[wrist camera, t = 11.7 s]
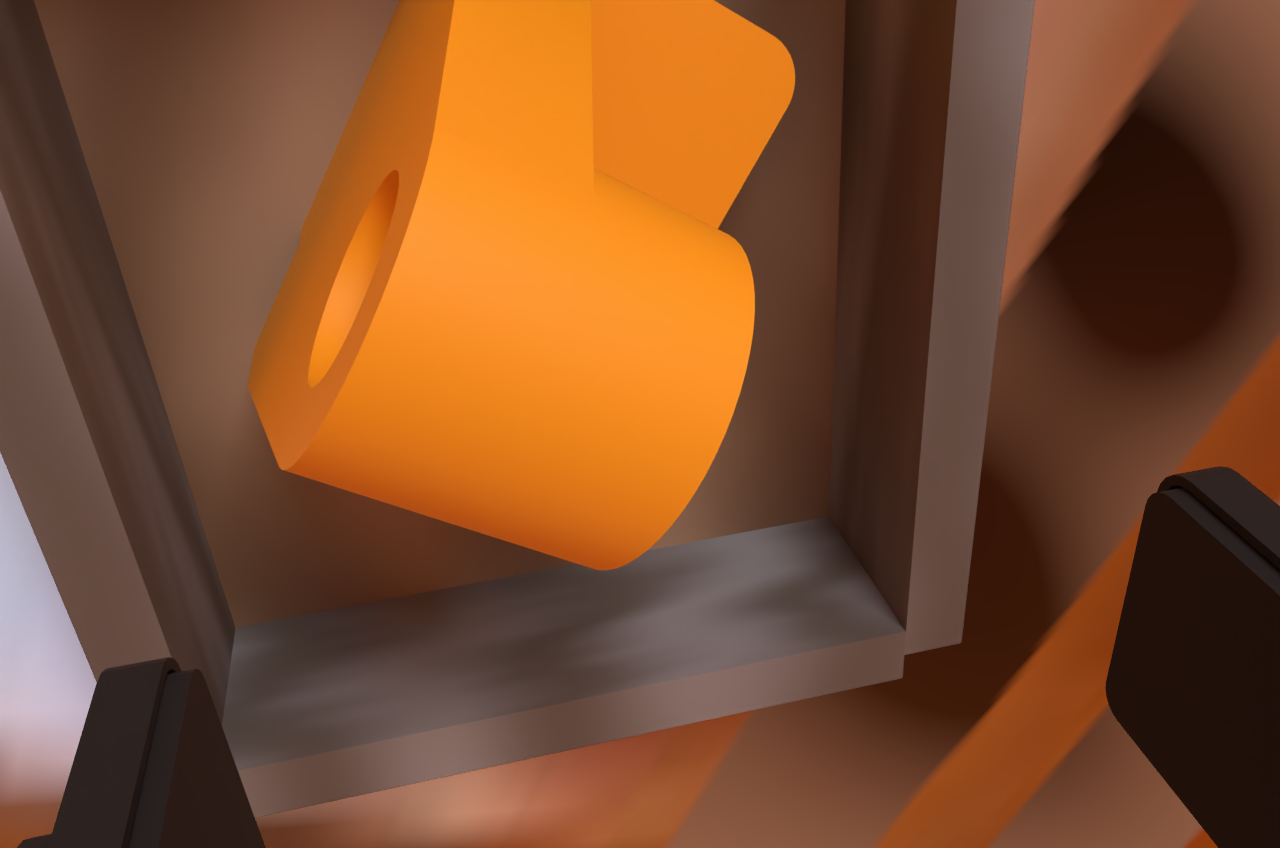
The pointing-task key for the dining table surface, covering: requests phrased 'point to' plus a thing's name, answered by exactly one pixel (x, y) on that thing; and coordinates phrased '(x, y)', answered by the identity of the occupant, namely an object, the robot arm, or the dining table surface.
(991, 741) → the dining table surface
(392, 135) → the bracket
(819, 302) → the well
